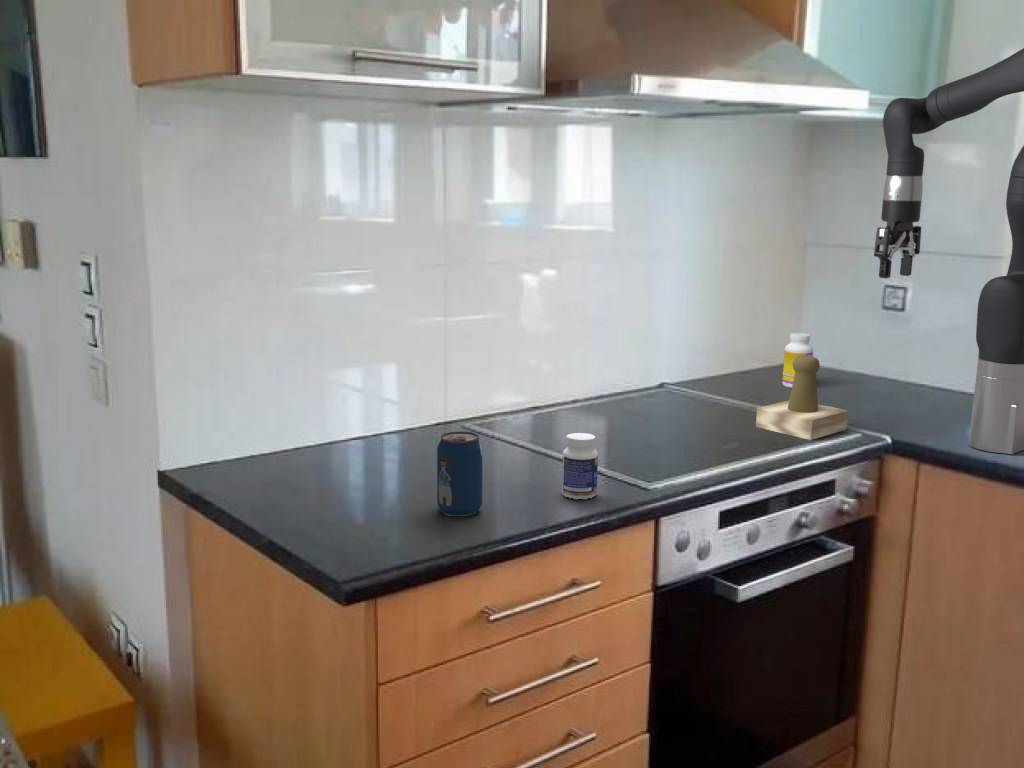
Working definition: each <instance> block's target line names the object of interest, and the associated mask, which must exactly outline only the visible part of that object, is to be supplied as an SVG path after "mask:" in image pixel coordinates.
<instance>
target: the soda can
mask: <svg viewBox="0 0 1024 768" xmlns="http://www.w3.org/2000/svg"><path fill="white" fill-rule="evenodd" d="M436 463H437V464H436V479H437V480H436V485H437V486H436V497H437V499H436V502H437V504H436V505H437V506H438V508H439V510H440V512H441V513H442V514H443V513H444V514H443V515H445V514H446V515H445V516H447V515H450V516H449V517H451V516H468V515H472V514H475V513H476V512H477V513H478V512H479V510H480V509H481V507H482V505H483V446H482V444H481V441H480V439H479V435H478V434H477V433H474V432H472V431H471V432H470V431H449V432H445V433H443V434H441V436H440V441H439V443H438V444H437V447H436ZM477 513H476V514H477ZM476 514H475V515H476ZM472 516H473V515H472ZM468 517H469V516H468Z"/></svg>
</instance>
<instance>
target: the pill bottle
mask: <svg viewBox="0 0 1024 768" xmlns="http://www.w3.org/2000/svg"><path fill="white" fill-rule="evenodd" d="M565 443H566V444H567V447H565V448H564V450H563V451H562V467H561V468H562V471H561V472H562V476H561V493H562V495H563V496H564V497H565V498H567V497H569V498H568V499H571V498H573V499H572V500H578V499H583V500H589V499H588V498H590V499H593V498H595V497H594V496H597V494H598V493H597V492H598V474H599V473H598V468H599V465H598V464H599V453H598V451H597V450H596V448H595V447H594V446H595V445H596V435H594V434H592V433H585V432H574V433H569V434H566V440H565ZM592 497H593V498H592Z"/></svg>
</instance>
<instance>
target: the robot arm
mask: <svg viewBox="0 0 1024 768" xmlns="http://www.w3.org/2000/svg"><path fill="white" fill-rule="evenodd" d="M1023 92H1024V47H1023V48H1021V49H1019V50H1018V51H1016V52H1015V53H1013V54H1011V55H1010V56H1008V57H1006V58H1005V59H1002V60H1000V61H998V62H996V63H995V64H993V65H991V66H988V67H987V68H985V69H982V70H980V71H977V72H975V73H972V74H970V75H967V76H965V77H962V78H960V79H955V80H954V81H950V82H948V83H944V84H943V85H940V86H937V87H936V88H934V89H933V90H931V91H930V92H929V93H928V95H927V96H926V97H921V98H912V97H911V98H910V97H897V98H895V99H893V100H891V101H890V102H889V103H888V105H887V106H886V108H885V110H884V113H883V117H882V118H883V119H882V129H883V134H884V141H885V146H886V151H887V162H886V163H887V164H886V174H885V181H884V187H883V194H882V205H881V217H880V219H881V221H883V222H886V225H885V227H877V228H876V233H875V243H874V250H873V256H874V257H877V258H878V260H879V269H878V277H879V278H880V279H890V278H891V273H892V262H893V261H892V259H893V257H894V254H895V253H897V252H898V251H900V254H901V258H900V266H899V267H900V268H899V269H900V270H899V274H900V276H904V277H905V276H906V277H911V275H912V268H913V260H914V258H916V255H919V254H920V251H921V238H922V226H921V225H914V223H918V222H919V221H920V220H921V210H922V199H923V188H924V186H923V185H924V184H923V183H924V182H923V173H924V163H925V151H924V149H923V148H921V147H919V146H917V145H915V142H914V138H913V135H920V134H926V133H928V132H932V131H933V130H935V129H937V128H939V127H941V126H942V125H944V124H945V123H947V122H951V121H954V120H957V119H960V118H963V117H966V116H969V115H971V114H974V113H977V112H979V111H981V110H982V109H984V108H986V107H987V106H988V105H990V104H991V103H993V102H994V101H996V100H998V99H1000V98H1003V97H1005V96H1009V95H1012V94H1016V93H1017V94H1018V93H1023ZM1009 175H1010V176H1009V180H1008V186H1007V191H1006V200H1005V206H1006V215H1007V220H1008V225H1009V229H1010V234H1011V242H1012V243H1011V244H1012V245H1011V248H1012V249H1011V256H1010V261H1009V265H1008V270H1007V273H1006V275H1002V276H996V277H994V278H992V279H990V280H988V281H987V282H986V283H985V284H984V285H983V288H982V289H981V291H980V294H979V298H978V303H977V313H976V314H977V315H976V330H975V334H976V335H975V341H976V345H977V347H978V357H977V358H978V359H977V366H976V375H975V382H974V383H975V384H974V392H973V393H974V394H973V400H972V401H973V402H972V411H971V419H970V428H969V429H970V430H969V437H968V446H970V447H972V448H974V449H976V450H980V451H983V452H991V453H996V454H1008V455H1014V454H1016V453H1019V452H1022V451H1024V145H1023V146H1022V147H1021V149H1020V150H1019V152H1018V154H1017V155H1016V157H1015V159H1014V162H1013V164H1012V167H1011V169H1010V174H1009Z"/></svg>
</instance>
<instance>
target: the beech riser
mask: <svg viewBox="0 0 1024 768" xmlns="http://www.w3.org/2000/svg"><path fill="white" fill-rule="evenodd" d="M788 404H789V399H788V400H784V401H780V402H776V403H773V404H768V405H763V406H759V407H757V408H756V418H755V419H756V421H755V427H756V428H758V429H763V430H767V431H771V432H777V433H780V434H784V435H788V436H791V437H792V436H793V437H797V438H801V439H804V440H805V439H806V440H809V441H812V440H816V439H819V438H822V437H826V436H830V435H832V434H833V435H834V434H836V433H839V432H844V431H847V428H848V421H849V420H848V419H849V410H848V409H843V408H839V407H838V408H837V407H832V406H828V405H824V404H823V405H822V404H819V403H818V411H817V412H813V413H801V412H794V411H791V410H789V409H788Z"/></svg>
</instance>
